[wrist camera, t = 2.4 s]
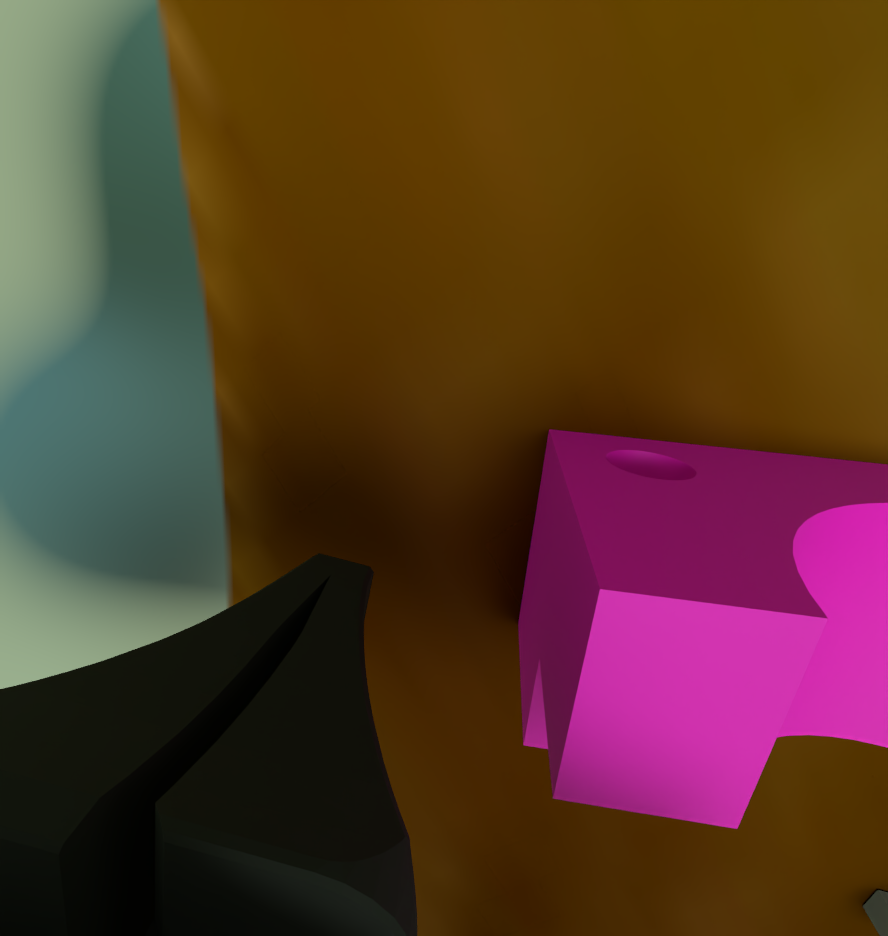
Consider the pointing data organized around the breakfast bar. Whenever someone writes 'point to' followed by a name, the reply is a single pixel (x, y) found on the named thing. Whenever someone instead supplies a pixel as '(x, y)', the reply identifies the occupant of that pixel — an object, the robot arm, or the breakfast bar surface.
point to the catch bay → (878, 911)
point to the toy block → (698, 618)
